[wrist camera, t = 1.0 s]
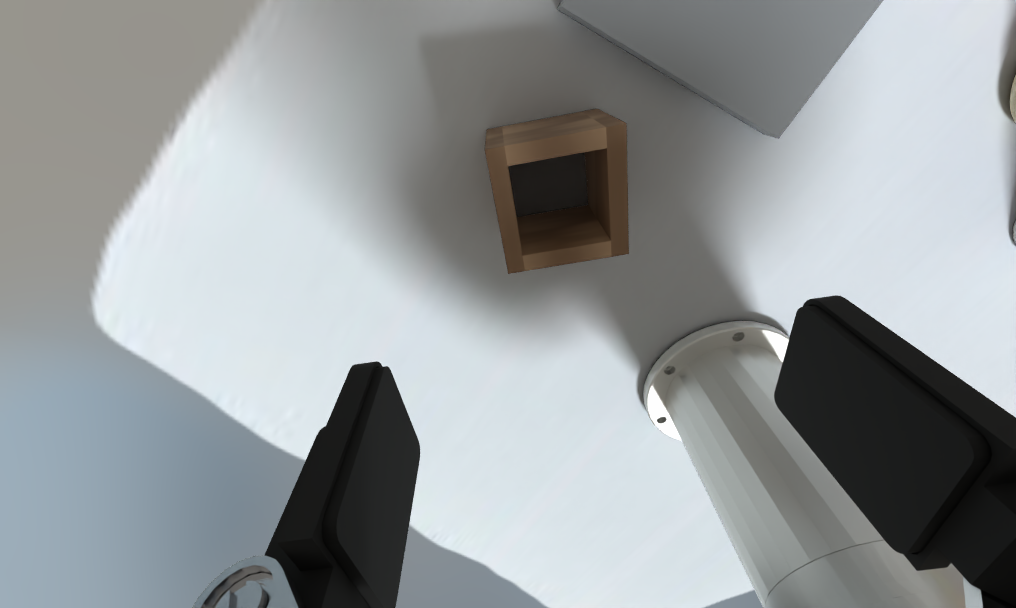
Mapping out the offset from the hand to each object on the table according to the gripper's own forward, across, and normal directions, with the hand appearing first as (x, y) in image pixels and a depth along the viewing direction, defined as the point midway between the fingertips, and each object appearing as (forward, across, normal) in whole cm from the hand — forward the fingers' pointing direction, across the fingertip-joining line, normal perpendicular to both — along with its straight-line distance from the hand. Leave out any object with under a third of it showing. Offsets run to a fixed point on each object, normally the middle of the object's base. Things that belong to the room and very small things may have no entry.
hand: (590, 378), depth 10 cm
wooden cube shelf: (+18, -1, 0) cm, 18 cm away
